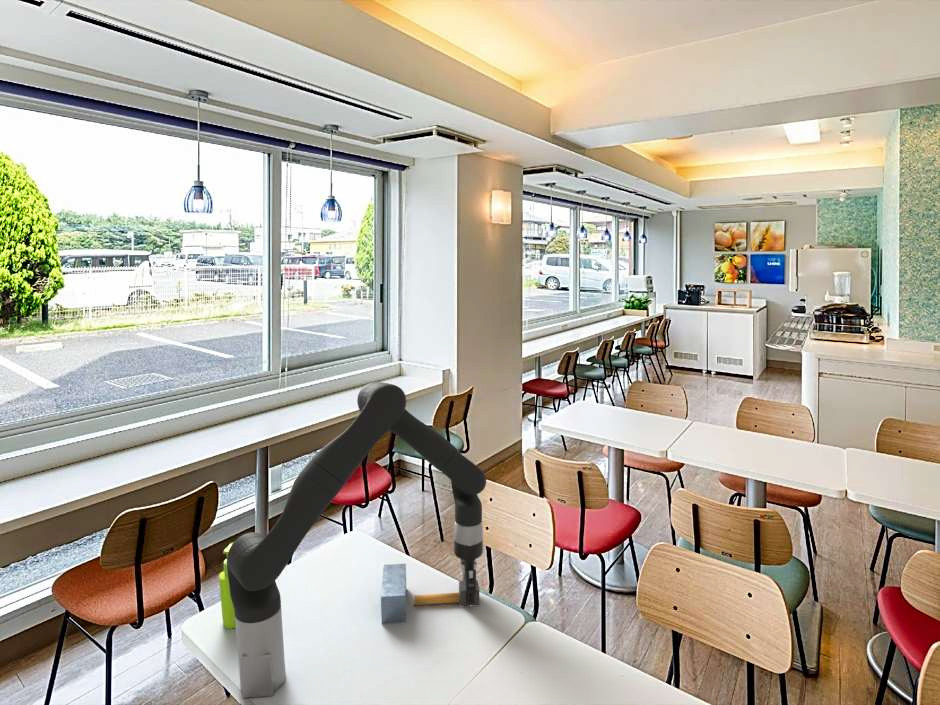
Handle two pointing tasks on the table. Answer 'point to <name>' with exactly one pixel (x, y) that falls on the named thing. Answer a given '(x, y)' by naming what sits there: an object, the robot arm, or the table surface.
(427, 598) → the hammer
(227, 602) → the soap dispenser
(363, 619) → the table surface
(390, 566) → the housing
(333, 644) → the table surface
